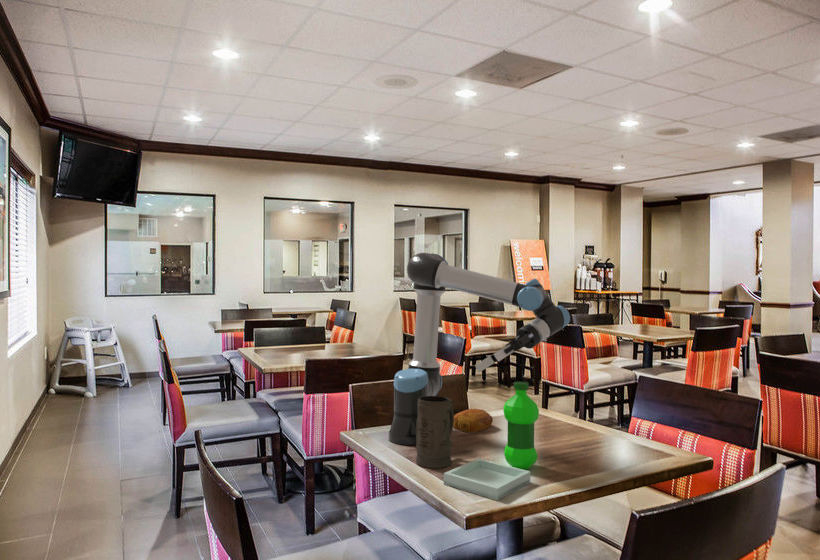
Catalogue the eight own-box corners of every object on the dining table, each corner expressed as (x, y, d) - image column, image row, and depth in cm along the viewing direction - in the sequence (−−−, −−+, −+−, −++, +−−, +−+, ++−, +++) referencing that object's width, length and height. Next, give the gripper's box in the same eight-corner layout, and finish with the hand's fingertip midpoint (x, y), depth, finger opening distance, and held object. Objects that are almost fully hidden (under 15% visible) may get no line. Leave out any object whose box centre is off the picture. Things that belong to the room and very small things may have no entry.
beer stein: (440, 471, 166) (443, 401, 167) (408, 465, 171) (411, 397, 172) (462, 460, 179) (464, 396, 180) (431, 454, 185) (434, 392, 186)
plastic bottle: (497, 462, 175) (498, 380, 174) (529, 460, 177) (530, 379, 177) (510, 473, 165) (511, 386, 164) (544, 471, 167) (545, 385, 167)
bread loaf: (498, 433, 215) (500, 411, 216) (475, 435, 204) (477, 413, 204) (466, 425, 225) (469, 404, 226) (442, 427, 213) (445, 405, 214)
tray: (443, 484, 156) (443, 473, 156) (478, 468, 169) (478, 458, 169) (497, 500, 145) (497, 488, 145) (530, 482, 158) (530, 471, 158)
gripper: (559, 332, 180) (512, 363, 170) (520, 353, 201) (476, 382, 191) (546, 311, 181) (498, 341, 171) (508, 335, 203) (464, 363, 193)
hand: (486, 363), depth 181 cm, fingers open, 13 cm apart
